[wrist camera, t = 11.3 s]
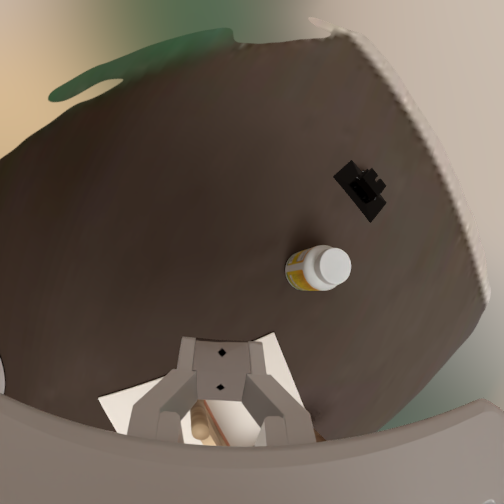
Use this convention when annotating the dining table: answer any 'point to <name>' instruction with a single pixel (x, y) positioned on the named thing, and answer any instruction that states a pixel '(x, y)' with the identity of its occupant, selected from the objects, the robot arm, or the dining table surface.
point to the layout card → (209, 403)
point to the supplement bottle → (318, 268)
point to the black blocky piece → (362, 189)
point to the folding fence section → (204, 426)
